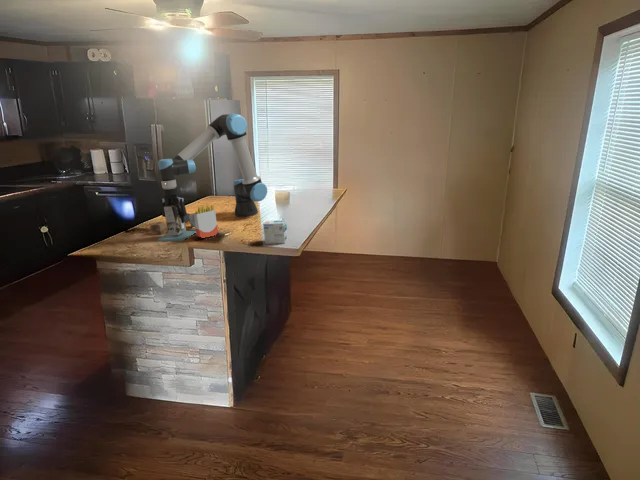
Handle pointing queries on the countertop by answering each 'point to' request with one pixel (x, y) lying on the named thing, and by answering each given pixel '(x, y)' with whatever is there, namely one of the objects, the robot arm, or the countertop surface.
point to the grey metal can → (192, 219)
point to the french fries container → (206, 222)
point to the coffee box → (173, 220)
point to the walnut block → (158, 228)
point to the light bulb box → (275, 232)
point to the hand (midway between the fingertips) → (176, 228)
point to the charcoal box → (187, 218)
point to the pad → (176, 236)
